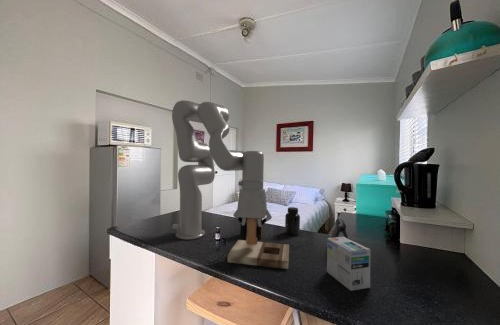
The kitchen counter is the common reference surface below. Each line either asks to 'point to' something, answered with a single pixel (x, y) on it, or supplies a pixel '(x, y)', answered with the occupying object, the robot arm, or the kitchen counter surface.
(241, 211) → the robot arm
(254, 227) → the peg
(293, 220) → the supplement bottle
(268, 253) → the plywood deck
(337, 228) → the phone stand
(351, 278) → the light bulb box
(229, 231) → the kitchen counter surface
